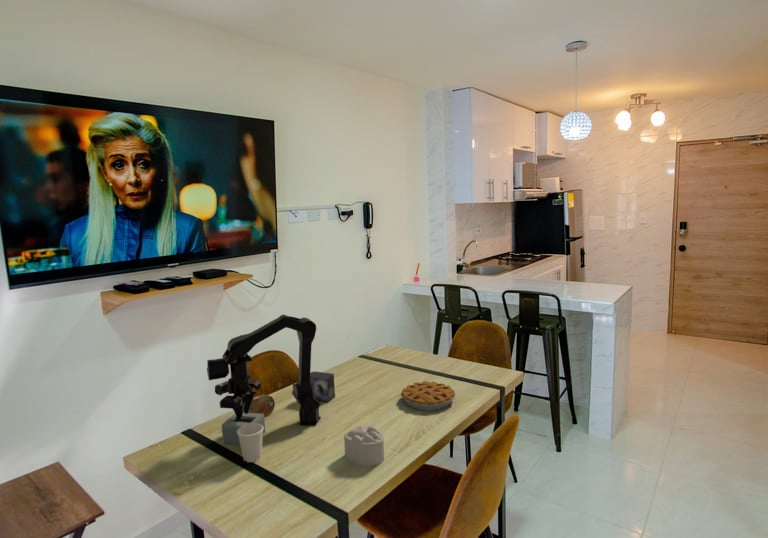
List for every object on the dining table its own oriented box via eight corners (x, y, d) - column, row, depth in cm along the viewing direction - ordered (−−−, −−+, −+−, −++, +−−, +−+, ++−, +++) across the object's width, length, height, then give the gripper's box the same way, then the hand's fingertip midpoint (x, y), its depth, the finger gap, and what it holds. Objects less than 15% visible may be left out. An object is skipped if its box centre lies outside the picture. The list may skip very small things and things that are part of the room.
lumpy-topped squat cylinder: (362, 443, 161) (361, 419, 160) (392, 456, 153) (391, 430, 152) (340, 456, 154) (339, 431, 152) (370, 470, 145) (369, 444, 144)
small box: (306, 400, 199) (304, 376, 198) (314, 393, 205) (312, 370, 204) (328, 403, 195) (326, 378, 194) (335, 396, 201) (334, 373, 200)
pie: (429, 418, 179) (428, 405, 178) (390, 401, 195) (389, 389, 194) (466, 400, 193) (466, 389, 192) (427, 386, 209) (426, 375, 208)
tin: (240, 426, 177) (238, 405, 176) (236, 424, 180) (235, 402, 178) (275, 413, 188) (274, 393, 186) (271, 410, 190) (270, 390, 189)
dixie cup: (251, 467, 149) (249, 437, 148) (233, 460, 154) (231, 431, 152) (271, 454, 156) (268, 426, 155) (253, 448, 161) (251, 421, 159)
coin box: (265, 432, 172) (263, 413, 171) (252, 445, 163) (250, 426, 162) (237, 430, 175) (236, 412, 174) (223, 443, 165) (221, 424, 164)
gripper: (232, 364, 176) (235, 404, 178) (203, 383, 158) (207, 427, 160) (259, 365, 174) (263, 405, 176) (233, 385, 156) (237, 429, 158)
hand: (243, 416), depth 167 cm, fingers open, 4 cm apart
